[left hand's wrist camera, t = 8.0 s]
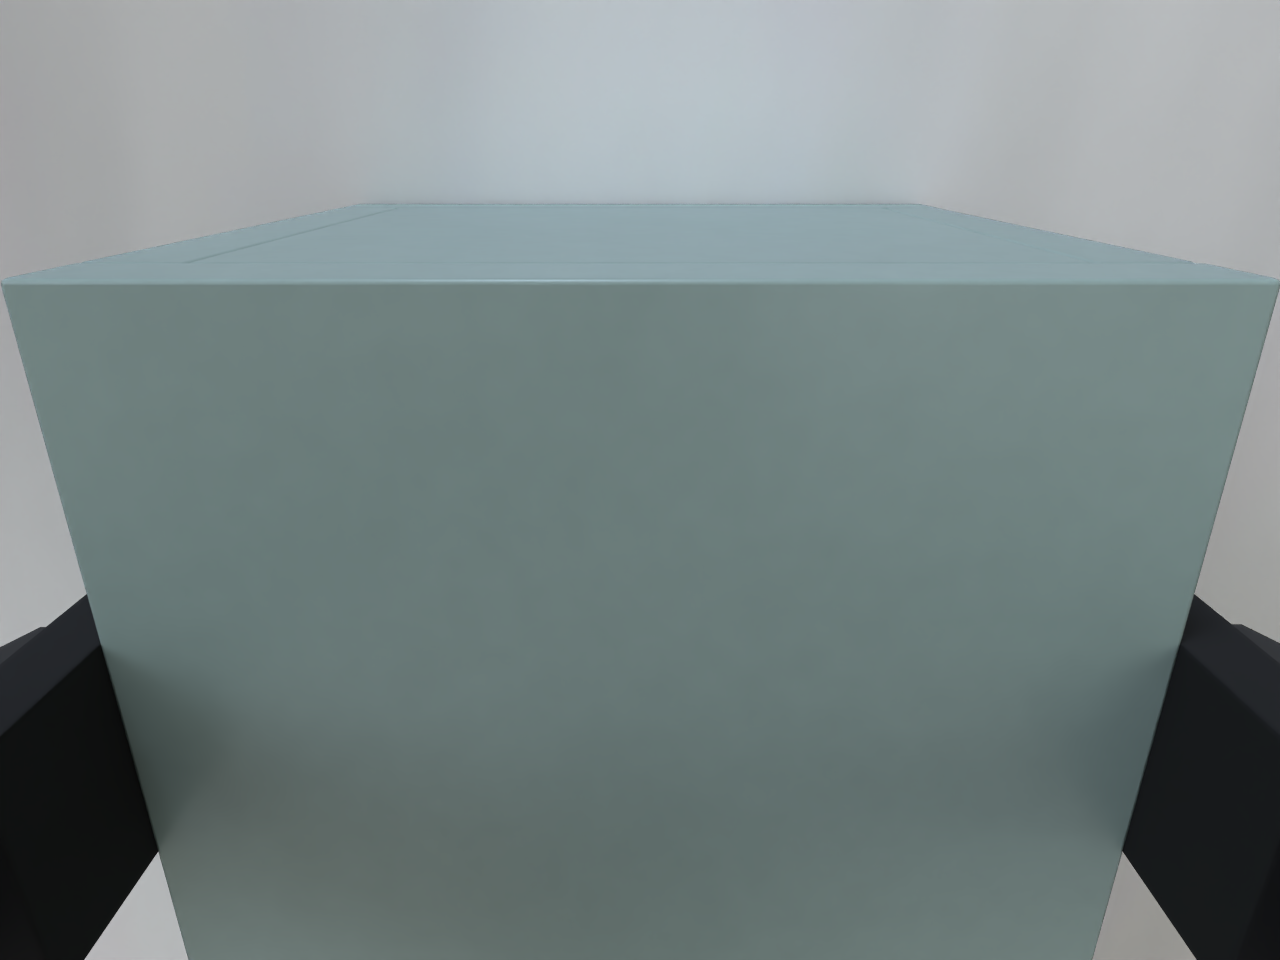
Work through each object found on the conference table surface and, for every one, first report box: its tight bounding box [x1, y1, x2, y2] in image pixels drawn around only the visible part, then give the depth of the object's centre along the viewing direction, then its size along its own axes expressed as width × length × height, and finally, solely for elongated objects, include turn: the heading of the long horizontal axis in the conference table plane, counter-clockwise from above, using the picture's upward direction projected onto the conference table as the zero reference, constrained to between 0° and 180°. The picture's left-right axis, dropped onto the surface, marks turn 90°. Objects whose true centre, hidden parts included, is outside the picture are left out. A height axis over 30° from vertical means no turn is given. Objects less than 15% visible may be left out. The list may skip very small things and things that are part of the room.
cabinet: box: [1, 204, 1280, 960], centre depth 15 cm, size 21×11×10 cm, turn 0°
